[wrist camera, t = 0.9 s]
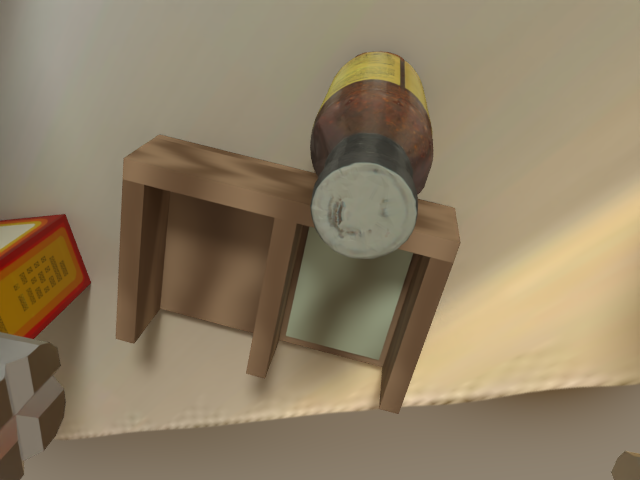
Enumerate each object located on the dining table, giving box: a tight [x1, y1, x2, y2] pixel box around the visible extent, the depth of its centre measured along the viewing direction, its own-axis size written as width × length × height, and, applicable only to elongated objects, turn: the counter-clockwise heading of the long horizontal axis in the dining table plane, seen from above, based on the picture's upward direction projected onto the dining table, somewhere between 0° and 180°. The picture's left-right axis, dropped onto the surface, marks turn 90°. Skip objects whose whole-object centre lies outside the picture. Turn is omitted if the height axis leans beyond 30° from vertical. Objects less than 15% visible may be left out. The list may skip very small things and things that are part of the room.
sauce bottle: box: [310, 51, 433, 259], centre depth 30 cm, size 7×6×20 cm
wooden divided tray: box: [116, 135, 460, 414], centre depth 42 cm, size 22×15×6 cm, turn 78°
